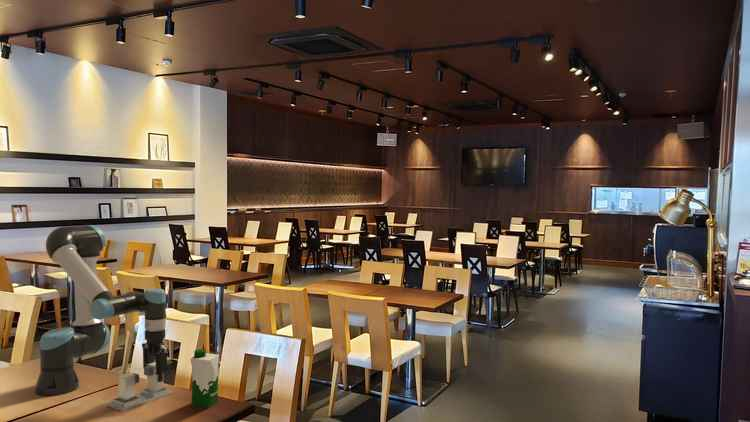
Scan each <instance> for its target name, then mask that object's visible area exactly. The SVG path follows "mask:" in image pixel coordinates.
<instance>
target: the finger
mask: <svg viewBox="0 0 750 422" xmlns="http://www.w3.org/2000/svg"><path fill="white" fill-rule="evenodd" d="M155 373H157V372H156V363H155V361H154V362H153V363H150V364H148V366H145V367H144V368H143V375H145V376H146V377H147V376H148V379H147V388H148V390H151V391H155ZM163 386H164V380H163V381H162V389H163Z"/></svg>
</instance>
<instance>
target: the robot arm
mask: <svg viewBox="0 0 750 422" xmlns="http://www.w3.org/2000/svg"><path fill="white" fill-rule="evenodd" d="M106 244H107V239H106V235H105V233H104V232H103V230H102V228H100V227H98V225H97V226H96V225H92V224H91V225H89V224H84V225H72V226H60V227H56V228H55V229H53V230H52V231H50V233H49V234H48V236H47V238H46V240H45V249H46V250H45V251H46V253H47V255H48V257H49V259H51V261H52V262H53V263H54V264H56V265H59V266H60V267H61V268H62V270H63V271H64V272H65V274H67V275H68V277H69V278H70V280H72V282H73V283H74V284H73V285H74V306H75V307H74V308H75V320H74V321H73V322H72V323H71V327H69V326H65V327H57V328H54V329H50V330H48V331H46V332H45V333H43V334H42V335H41V338H40V340H39V341H40V344H39V348H40V349H39V350H40V354H39V355H40V356H39V357H40V358H39V359H40V361H39V362H40V365H39V366H40V368H39V369H40V370H39V371H40V373H39V375H38V378H37V381H36V383H35V388H34V389H35V394H37V395H40V396H57V395H62V394H67V393H70V392H72V391H73V392H74V391H75V390H77V389H78V388H79V387H80V380H79V378H78V374H77V372H76V369H75V359H78V358H81V357H86V356H88V355H92V354H93V355H94V354H97V353H98V352H101V351H103V350H104V349H106V347H108V345H109V342H110V339H111V332H110V330H109V328H108V327H109V326H108V325H106V324H105V323H104V320H105V319H110V318H114V317H118V316H123V315H128V314H131V313H132V314H133V313H143V314H144V340H145V341H146V342H143V343H141V347H142V363H143V364H142V365H143V366H142V367H143V369H144V367H145V366H148V364H150V363H153V362H155V363H156V372H157V373H155V391H157V390H160V389H162V381H163V382H164V373H166V372H167V371H168V353H169V347H168V346H165V344H164V340H165V339H166V327H167V326H166V325H167V324H166V302H167V299H166V298H167V297H166V291H165V289H163V288H148V289H146V290H145V291H144V292H139V291H134V290H133V291H125V292H124V293H123V294H121V295H115V296H114V294H113V293H112V292H111V291H110V290H109V289H108V288H107V286H106V285H105V284H104V283H103V281H102V280H101V279H100V278H99V277H98V267H97V261H98V259H99V258H101V252H102V251H103V250H104V249H105V247H106V246H107V245H106ZM146 378H147V380H148V376H147V375H146Z"/></svg>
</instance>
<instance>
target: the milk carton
mask: <svg viewBox="0 0 750 422" xmlns="http://www.w3.org/2000/svg"><path fill="white" fill-rule="evenodd" d="M193 355H194V356H193V357H191V358H190V364H191V365H190V366H191V407H195V406H198V407H197V408H205V407H206V408H207V409H210V407H212V406H213V405H215V404H216V403H217V402H218V401H219V400H218V399H219V361H220V354H215V353H206V349H203V348H202V349H199V348H198V349H195V350H194V351H193ZM214 403H215V404H214Z"/></svg>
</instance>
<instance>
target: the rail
mask: <svg viewBox="0 0 750 422" xmlns="http://www.w3.org/2000/svg"><path fill="white" fill-rule="evenodd" d="M139 383H140V374H139V373H135V372H133V373H130V372H128V373H124V374H123V373H122V374H120V375H118V396H117V397H114V398H112V399H110V400H111V401H110V403H107V407H109V408H112V409H114V410H117V411H119V412H123V411H125V410H128V409H131V408H134V407H137V406H139V405H143V404H145V403H149V402H151V401H154V400H157V399H160V398H163V397H166V396H169V395H171V393H172V394H173V390H171V389H170V387H168V386H164V385H163V389H160V390H157V391H151V390H148V387H145V388H142V389H140V391H139V392H138V393H136V384H139ZM168 394H169V395H168Z"/></svg>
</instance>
